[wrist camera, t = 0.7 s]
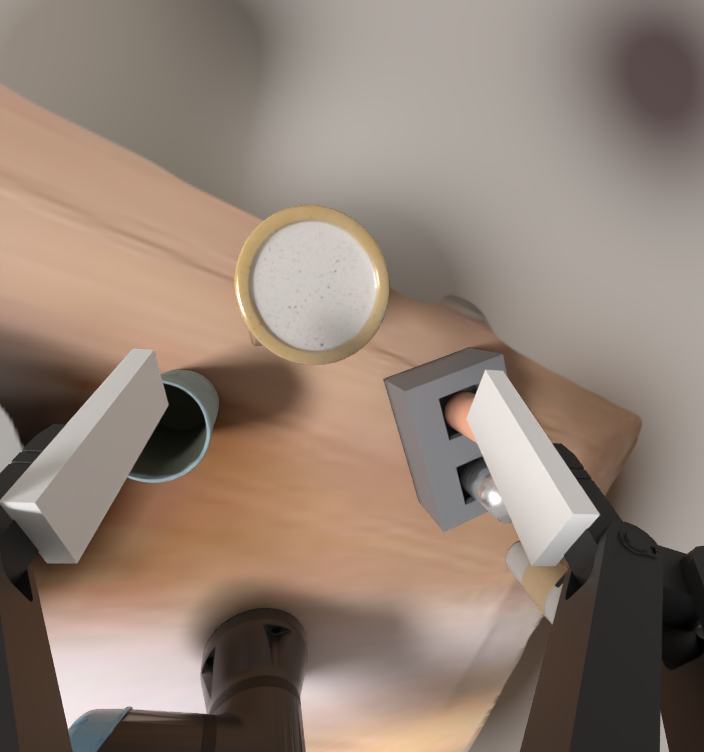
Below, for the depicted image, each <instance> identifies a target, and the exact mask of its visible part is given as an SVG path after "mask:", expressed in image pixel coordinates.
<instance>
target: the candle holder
mask: <svg viewBox="0 0 704 752" xmlns="http://www.w3.org/2000/svg"><path fill="white" fill-rule="evenodd" d="M234 285H235V296H236V300H237V305H238V308H239V311H240V313H241V316H242V318H243V320H244V322H245V324H246V325H247V327H248V329H249V332H250V337H251V342H252V344H253V345H255V346H259V345H263V346H264V347H266V348H267V349H268V350H270V351H271V352H273V353H274V354H276V355H277V356H279V357H282V358H284V359H286V360H288V361H292V362H295V363H299V364H306V365H325V364H330V363H334V362H338V361H340V360H343V359H346V358H347V357H349V356H351V355H353V354H355V353H356V352H357V351H359V350H360V349H361V348H363V347H364V346H365V345H366V344H367V343H368V342H369V341H370V340H371V339H372V337H373V336H374V335H375V333H376V332H377V330H378V329H379V327H380V325H381V323H382V321H383V319H384V316H385V313H386V310H387V307H388V301H389V289H390V282H389V275H388V269H387V266H386V262H385V259H384V257H383V254H382V252H381V250H380V248H379V246H378V245H377V243H376V241H375V240H374V238H373V237H372V236H371V235H370V233H369V232H368V231H367V230H366V229H365V228H364V227H363V226H362V225H361V224H360V223H358V222H357V221H356V220H355V219H353V218H351V217H350V216H348V215H347V214H345V213H343V212H340V211H338V210H335V209H333V208H328V207H325V206H320V205H301V206H294V207H290V208H287V209H283V210H281V211H279V212H277V213H275V214H273V215H271V216H270V217H268V218H267V219H265V220H264V221H263V222H261V223H260V224H259V225H258V226H257V227H256V228H255V229H254V230H253V232H252V233H251V234H250V236H249V237H248V239H247V240H246V242H245V243H244V245H243V247H242V250H241V252H240V254H239V257H238V261H237V264H236V268H235V279H234Z"/></svg>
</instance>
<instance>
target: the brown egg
mask: <svg viewBox="0 0 704 752" xmlns="http://www.w3.org/2000/svg"><path fill="white" fill-rule="evenodd" d="M475 395H476V394H473V393H471V392H468V391H462V392H458V393H456V394H454V395H453V396H452V397H451V398H450V399H449V400H448V402H447V404H446V406H445V411H444V416H445V420H446V422H447V423H448V425H449V426H450V427H452V428H453V429H455V430H456V431H458V432H460V433H461V434H463V435H464V436H466V437H468V438H469V439H471V440H472V441H474V442H476V440H475V437H474V435H473V433H472V431H471V428H470V426H469V424H468V422H467V419H466V418H467V416H468V413H469V410H470V408H471V405H472V403H473V400H474V398H475ZM476 443H477V442H476Z"/></svg>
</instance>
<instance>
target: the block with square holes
mask: <svg viewBox="0 0 704 752" xmlns="http://www.w3.org/2000/svg"><path fill="white" fill-rule="evenodd" d="M485 370H499V371H504V373H505V374H506V376H507V372H506V366H505V361H504V356H503V354H500V353H495V352H490V351H484V350H479V349H473V348H466V349H463V350H461V351H458V352H455V353H452V354H450V355H447V356H444V357H442V358H439V359H436V360H434V361H431V362H428V363H425V364H423V365H420V366H417V367H415V368H412V369H409V370H407V371H404V372H401V373H398V374H396V375H393V376H390V377H388V378H385V379H384V383H385V386H386V390H387V393H388V396H389V400H390V403H391V407H392V410H393V414H394V417H395V421H396V424H397V428H398V431H399V434H400V438H401V441H402V445H403V448H404V452H405V455H406V459H407V462H408V465H409V469H410V472H411V476H412V479H413V483H414V486H415V490H416V493H417V497H418V500H419V502H420V504H421V505H422V506H423V507H424V508H425V510H426V511H427V512H428V513H429V515H430V516H431V517H432V518H433V520H434V521H435V522H436V523H437V524H438V526H439V527H440V528H441V529H442V531H443V532H445V531H447V530H449V529H452V528H454V527H456V526H458V525H460V524H462V523H464V522H467V521H469V520H471V519H473V518H475V517H477V516H479V515H482V514H484V513H486V512H488V510H487V509H486V508H484V507H483V506H482V505H481V504H480V503H479V502H478V501H477V500H475V499H474V498H473V497H472V496H471V495H470V494H469V493H468V492H466V491H465V490H464V488H463V487H462V484H461V475H462V472H463V470H464V468H465V467H466V465H467V464H469V463H470V462H471V461H473V460H475V459H480V458H482V459H484V458H483V455H482V453H481V451H480V449H479V446H478V444H477V443H476V442H474V441H472V440H471V439H469V438H468V437H466V436H464V435H463V434H461V433H460V432H458V431H456V430H455V429H453V428H452V427H450V426H449V425H448V423H447V422H446V420H445V416H444V411H445V406H446V404H447V402H448V400H449V399H450V398H451V397H452V396H453V395H454V394H456V393H458V392H462V391H468V392H471V393H473V394H476V392H477V390H478V387H479V385H480V382H481V379H482V377H483V374H484V372H485Z"/></svg>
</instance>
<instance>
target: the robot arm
mask: <svg viewBox="0 0 704 752" xmlns="http://www.w3.org/2000/svg"><path fill="white" fill-rule="evenodd" d="M167 407H168V401H167V397H166V393H165V389H164V386H163V382H162V378H161V374H160V371H159V367H158V363H157V359H156V355H155V352H154V350H147V349H132V350H131V351H130V352H129V354H128V355H127V356H126V357H125V358H124V359H123V360H122V362H121V363H120V364H119V365H118V366H117V367H116V368H115V370H114V371H113V372H112V373H111V374H110V375H109V376H108V378H107V379H106V380H105V381H104V382H103V383H102V384H101V386H100V387H99V388H98V389H97V390H96V391H95V392H94V394H93V395H92V396H91V397H90V398H89V399H88V400H87V401H86V403H85V404H84V405H83V406H82V407H81V408H80V409H79V411H78V412H77V413H76V414H75V415H74V416H73V417H72V419H71V420H70V421H69V422H68V423H67V424H66V425H63V424H53V425H52V426H50V427H49V428H47V429H46V430H44V431H42V432H41V433H39V434H38V435H36V436H35V437H34V438H33V439H32V440H31V441H30V442H29V443H28V444H27V445H26V446H25V448H24V449H23V451H22V452H20V453H19V454H18V455H17V456H16V457H15V458H14V459H13V460H12V463H11V464H9V465H8V466H7V467H6V468H5V469H4V470H3V471H2V472H1V473H0V752H306V749H305V740H304V730H303V721H302V711H301V702H300V695H301V690H302V685H303V680H304V675H305V670H306V665H307V657H308V651H307V642H306V636H305V632H304V630H303V628H302V626H301V624H300V623H299V622H298V621H297V620H296V619H295V618H294V617H293V616H291V615H289V614H287V613H285V612H283V611H280V610H275V609H256V610H251V611H247V612H244V613H241V614H239V615H237V616H235V617H233V618H231V619H230V620H228V621H227V622H225V623H224V624H223V625H221V626H220V627H219V628H218V629H217V630H216V631H215V632H214V634H213V635H212V636H211V638H210V639H209V641H208V643H207V645H206V647H205V650H204V654H203V659H202V665H201V684H202V689H203V695H204V700H205V705H206V711H207V714H198V713H182V712H166V711H150V710H133V709H132V708H133V707H126V708H125V709H95V710H91V711H88V712H86V713H85V714H83V715H82V716H81V717H79V718H78V719H77V720H76V721H75V722H74V723H73V724H72V726H71V727H70V728H69V729H68V727H67V723H66V718H65V714H64V709H63V705H62V700H61V695H60V691H59V686H58V682H57V677H56V673H55V668H54V663H53V659H52V654H51V650H50V645H49V641H48V636H47V631H46V627H45V622H44V618H43V613H42V608H41V604H40V599H39V595H38V590H37V586H36V581H35V576H34V572H33V570H32V569H31V567H30V566H29V565H30V563H31V562H32V560H33V559H34V558H35V556H36V555H37V553H38V552H39V554H40V555H41V556H42V557H43V559H44V560H45V561H46V562H47V563H78V561H79V559H80V558H81V556H82V554H83V552H84V551H85V549H86V547H87V546H88V544H89V542H90V540H91V539H92V537H93V535H94V533H95V532H96V530H97V528H98V526H99V525H100V523H101V521H102V520H103V518H104V516H105V514H106V513H107V511H108V509H109V507H110V506H111V504H112V502H113V501H114V499H115V497H116V495H117V494H118V492H119V490H120V488H121V487H122V485H123V483H124V481H125V480H126V478H127V476H128V475H129V473H130V471H131V469H132V468H133V466H134V464H135V462H136V461H137V459H138V457H139V456H140V454H141V452H142V450H143V449H144V447H145V445H146V443H147V442H148V440H149V438H150V436H151V435H152V433H153V431H154V430H155V428H156V426H157V424H158V423H159V421H160V419H161V417H162V416H163V414H164V412H165V410H166V409H167ZM466 419H467V422H468V424H469V426H470V428H471V431H472V433H473V435H474V437H475V440H476V442H477V444H478V446H479V449H480V451H481V453H482V455H483V458H484V460H485V462H486V464H487V467H488V469H489V471H490V473H491V476H492V478H493V480H494V482H495V485H496V487H497V489H498V491H499V494H500V496H501V498H502V500H503V503H504V505H505V507H506V509H507V512H508V514H509V516H510V518H511V521H512V523H513V525H514V527H515V530H516V532H517V534H518V536H519V539H520V541H521V543H522V546H523V548H524V550H525V552H526V555H527V557H528V559H529V561H530V564H531V566H556V565H557V564H558V563H559V561H560V560H561V559H562V558H563V557H565V559H566V560H567V562H568V564H569V566H570V568H569V569H568V570H567V571H566V572H565V573H564V574H563V575H562V576H561V578H560V579H559V580H558V581H557V582H556V584H555V586H556V587H557V588H559V587H560V586H561V585H562V584H563V585H562V589H561V593H560V597H559V601H558V605H557V609H556V613H555V617H554V621H553V625H552V629H551V632H550V636H549V640H548V644H547V648H546V652H545V656H544V660H543V664H542V668H541V671H540V675H539V679H538V683H537V687H536V691H535V695H534V699H533V703H532V707H531V711H530V714H529V718H528V723H527V726H526V730H525V734H524V738H523V742H522V746H521V749H520V752H660V710H661V715H662V720H663V724H664V729H665V733H666V738H667V743H668V748H669V752H704V546H698V547H695V548H694V549H693V550H692V551H690V552H689V553H688V554H685V553H682V552H678V551H675V550H672V549H669V548H665V547H662V546H659V545H657V543H656V542H655V541H654V540H653V539H652V538H651V537H650V536H649V535H648V534H647V533H646V532H644V531H643V530H641V529H640V528H638V527H637V526H634V525H632V524H630V523H627V522H623V521H622V520H621V519H620V518H619V516H618V515H617V513H616V512H615V510H614V509H613V507H612V506H611V505H610V503H609V502H608V501H607V499H606V498H605V496H604V495H603V494H602V492H601V491H600V489H599V488H598V487H597V485H596V484H595V482H594V481H592V480H591V477H590V476H589V474H588V473H587V471H586V470H584V467H583V466H582V464H581V463H580V462H579V460H578V459H577V457H576V456H575V455H574V454H573V453H572V452H571V451H569V450H568V449H567V448H566V447H565V446H563V445H562V444H557V443H551V441H550V440H549V438H548V437H547V435H546V434H545V432H544V431H543V429H542V428H541V426H540V425H539V423H538V422H537V420H536V419H535V417H534V416H533V414H532V413H531V411H530V410H529V409H528V407H527V406H526V404H525V403H524V401H523V400H522V398H521V397H520V395H519V394H518V392H517V391H516V389H515V388H514V386H513V385H512V383H511V382H510V380H509V379H508V377H507V376H506V374H505V373H504V371H499V370H485V372H484V374H483V377H482V379H481V382H480V385H479V387H478V390H477V392H476V395H475V398H474V400H473V403H472V405H471V408H470V410H469V413H468V416H467V418H466Z"/></svg>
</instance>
